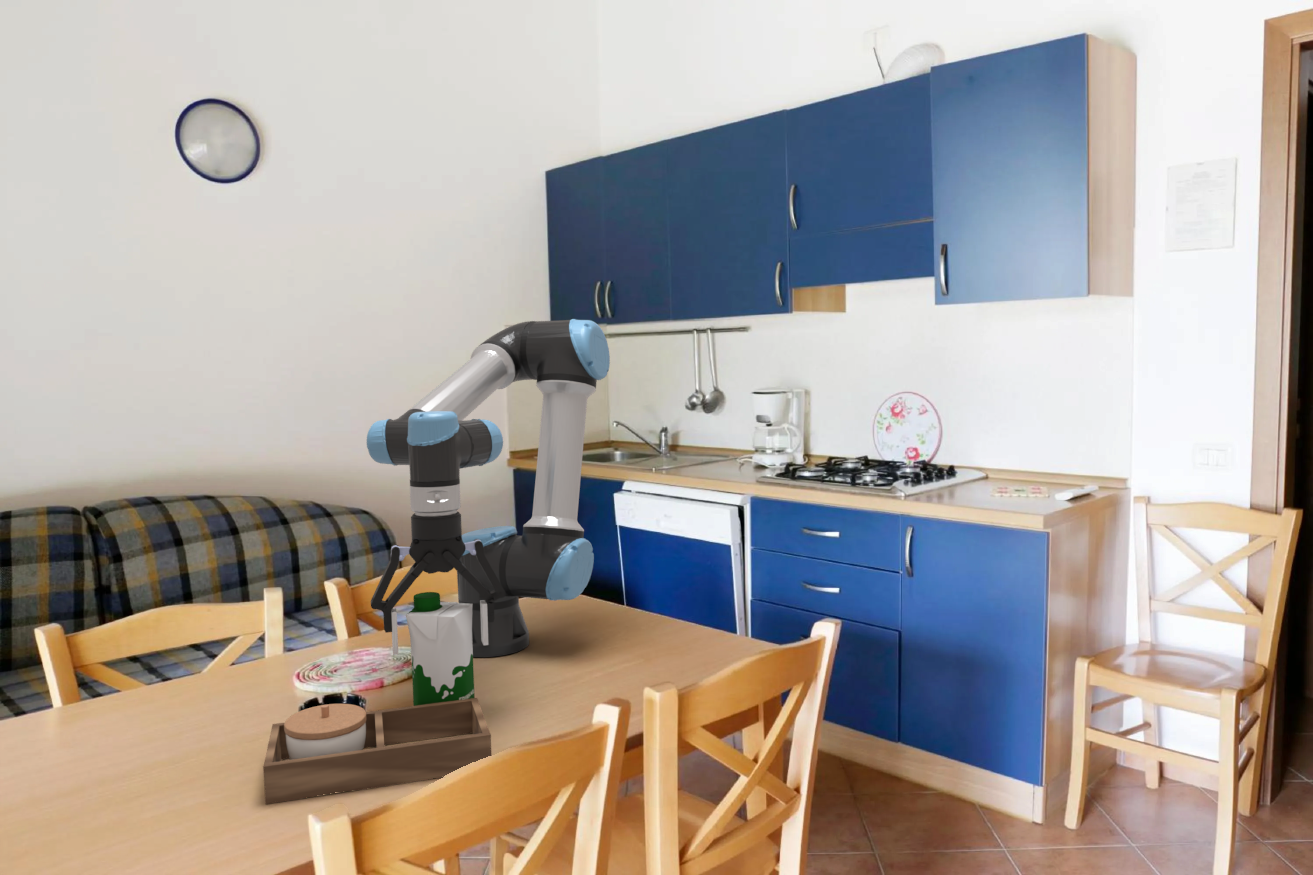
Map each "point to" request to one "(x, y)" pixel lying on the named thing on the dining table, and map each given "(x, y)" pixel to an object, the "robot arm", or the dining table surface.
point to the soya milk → (440, 650)
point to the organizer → (383, 752)
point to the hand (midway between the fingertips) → (440, 647)
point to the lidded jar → (325, 730)
